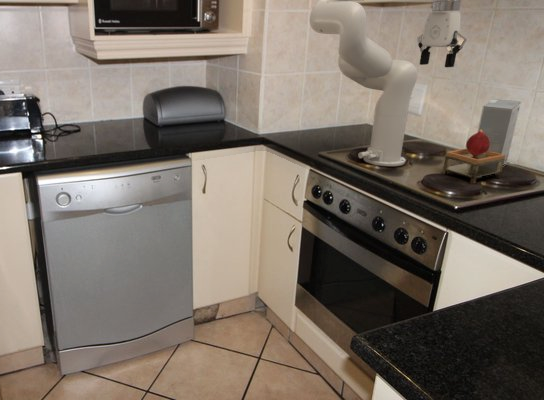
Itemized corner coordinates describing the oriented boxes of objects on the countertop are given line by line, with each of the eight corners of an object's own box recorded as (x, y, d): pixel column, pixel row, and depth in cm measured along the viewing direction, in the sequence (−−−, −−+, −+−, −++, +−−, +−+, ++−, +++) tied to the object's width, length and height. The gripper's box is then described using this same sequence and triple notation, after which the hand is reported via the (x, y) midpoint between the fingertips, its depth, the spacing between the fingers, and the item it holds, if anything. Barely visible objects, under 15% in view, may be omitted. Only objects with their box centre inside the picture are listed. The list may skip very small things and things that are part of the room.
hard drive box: (479, 159, 157) (493, 98, 150) (506, 164, 152) (522, 101, 145) (468, 170, 146) (482, 105, 139) (496, 175, 141) (513, 108, 134)
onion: (491, 159, 138) (498, 131, 135) (473, 159, 137) (480, 132, 134) (476, 153, 143) (483, 127, 140) (459, 154, 142) (465, 127, 139)
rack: (473, 184, 135) (478, 160, 133) (442, 174, 144) (446, 151, 141) (500, 178, 140) (505, 154, 137) (468, 169, 148) (473, 147, 146)
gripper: (414, 8, 151) (406, 64, 158) (461, 7, 136) (450, 68, 142) (432, 8, 154) (423, 63, 160) (480, 6, 139) (468, 67, 145)
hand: (436, 65), depth 151 cm, fingers open, 9 cm apart
